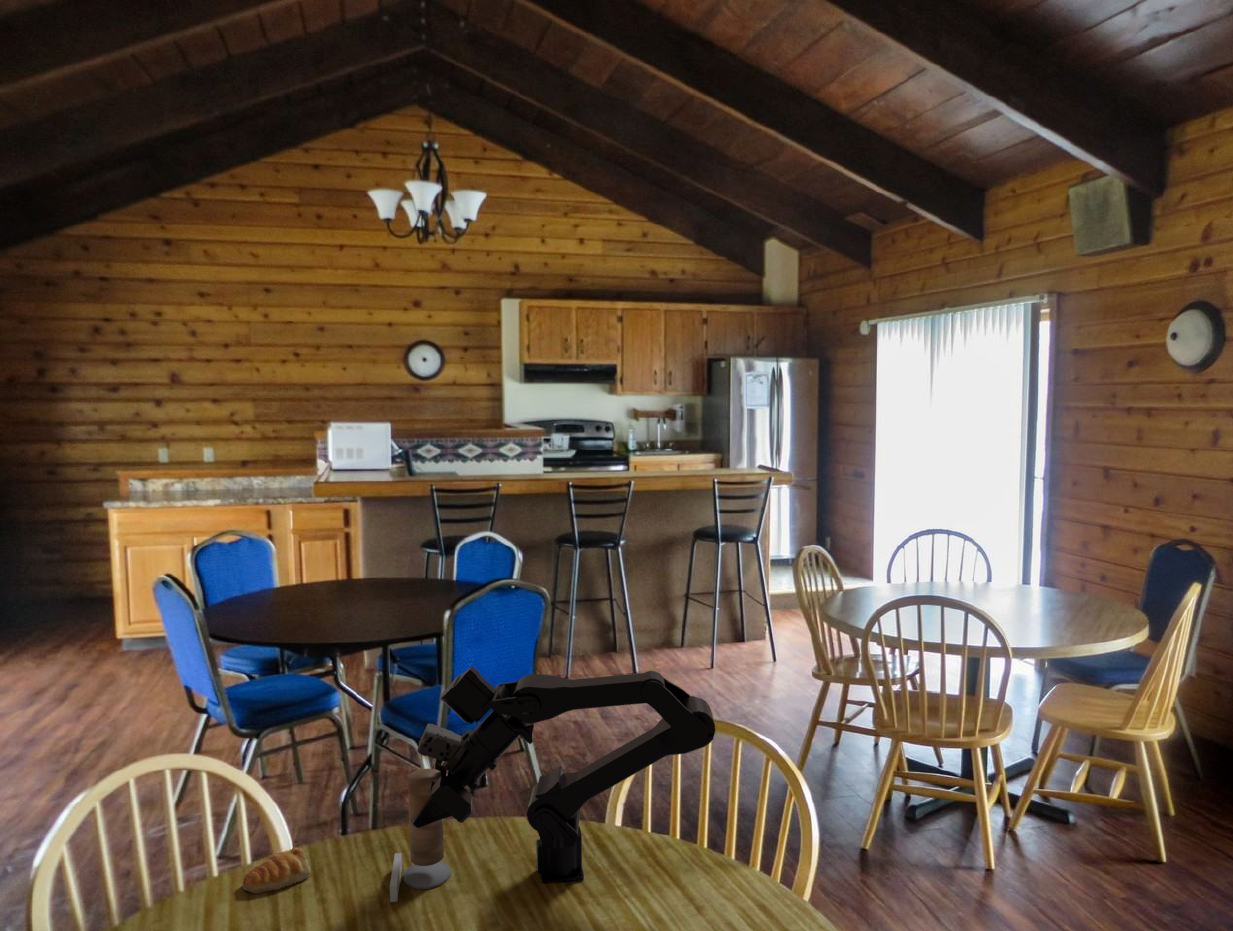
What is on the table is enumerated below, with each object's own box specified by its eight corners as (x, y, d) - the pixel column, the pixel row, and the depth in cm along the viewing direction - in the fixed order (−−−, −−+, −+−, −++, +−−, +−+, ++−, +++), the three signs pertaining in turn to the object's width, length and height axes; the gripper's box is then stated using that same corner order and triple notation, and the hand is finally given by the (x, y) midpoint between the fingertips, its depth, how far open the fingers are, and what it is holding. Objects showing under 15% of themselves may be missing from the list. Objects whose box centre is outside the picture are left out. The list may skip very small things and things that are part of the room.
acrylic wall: (401, 867, 138) (401, 852, 138) (397, 901, 129) (396, 884, 129) (395, 868, 138) (394, 853, 138) (390, 901, 129) (389, 885, 129)
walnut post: (444, 847, 138) (441, 767, 137) (443, 864, 133) (440, 781, 132) (411, 850, 137) (409, 769, 136) (409, 867, 133) (406, 784, 131)
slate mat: (450, 861, 140) (450, 858, 140) (449, 886, 133) (449, 883, 133) (405, 865, 139) (405, 862, 139) (402, 891, 132) (401, 887, 132)
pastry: (253, 903, 129) (252, 878, 129) (235, 885, 134) (234, 861, 134) (314, 878, 136) (313, 854, 135) (295, 861, 141) (294, 838, 140)
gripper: (452, 687, 143) (385, 757, 143) (444, 733, 124) (367, 813, 124) (502, 731, 145) (436, 800, 144) (502, 782, 126) (426, 862, 126)
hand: (416, 816), depth 135 cm, fingers closed on walnut post, 5 cm apart
